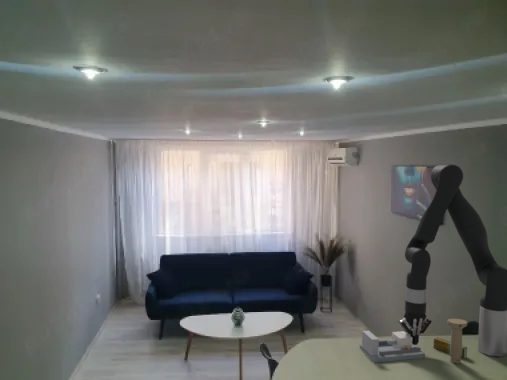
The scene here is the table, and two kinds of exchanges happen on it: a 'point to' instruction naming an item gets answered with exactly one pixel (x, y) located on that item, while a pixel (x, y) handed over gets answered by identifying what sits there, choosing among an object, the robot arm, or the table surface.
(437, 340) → the medication box
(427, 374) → the table surface
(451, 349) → the handle
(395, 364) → the table surface
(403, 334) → the plunger
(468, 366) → the table surface
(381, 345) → the gauge bed
